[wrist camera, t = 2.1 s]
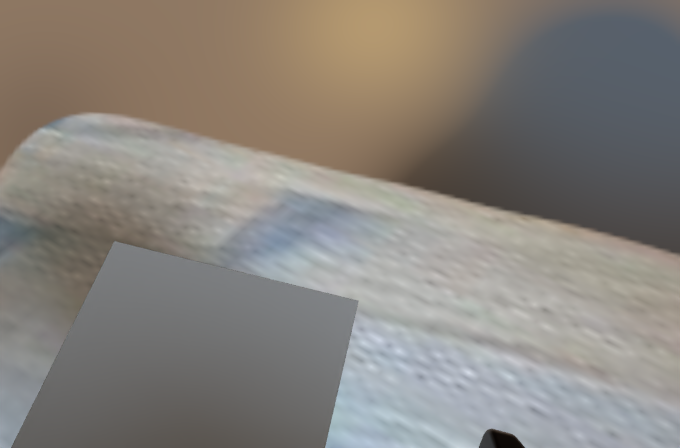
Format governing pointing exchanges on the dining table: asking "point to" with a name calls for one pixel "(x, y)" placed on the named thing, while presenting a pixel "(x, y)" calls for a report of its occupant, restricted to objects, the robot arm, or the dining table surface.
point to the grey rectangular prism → (192, 360)
